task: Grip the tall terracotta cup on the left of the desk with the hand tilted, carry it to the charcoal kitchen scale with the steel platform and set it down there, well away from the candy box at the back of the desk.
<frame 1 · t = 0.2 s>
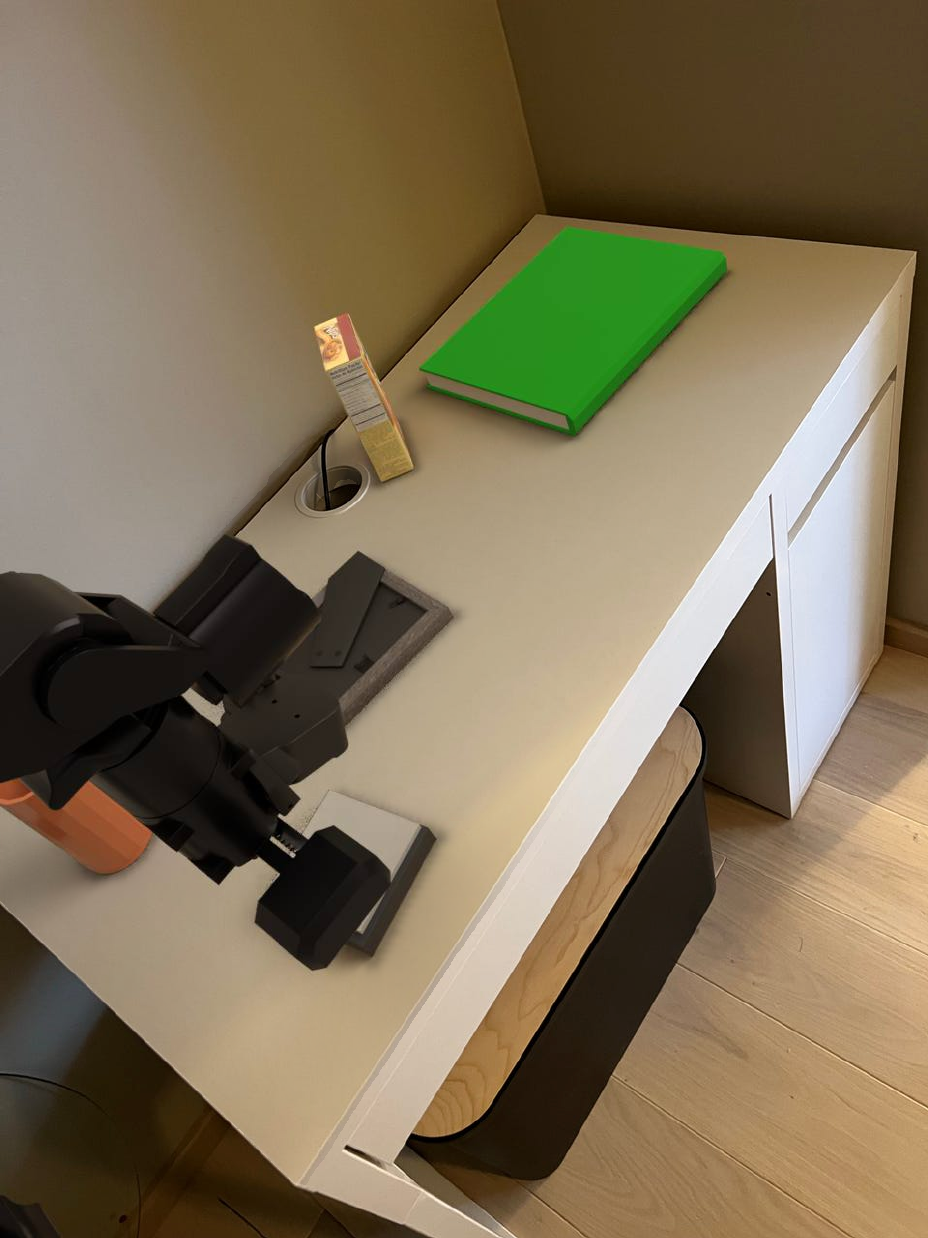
hand: (305, 888, 59), 14 cm above the table, tool pointing down, fingers open, 9 cm apart
candy box: (392, 454, 107), on the table
cup: (118, 837, 85), on the table
picture frame: (342, 655, 91), on the table
scale: (354, 874, 76), on the table
book: (575, 334, 110), on the table
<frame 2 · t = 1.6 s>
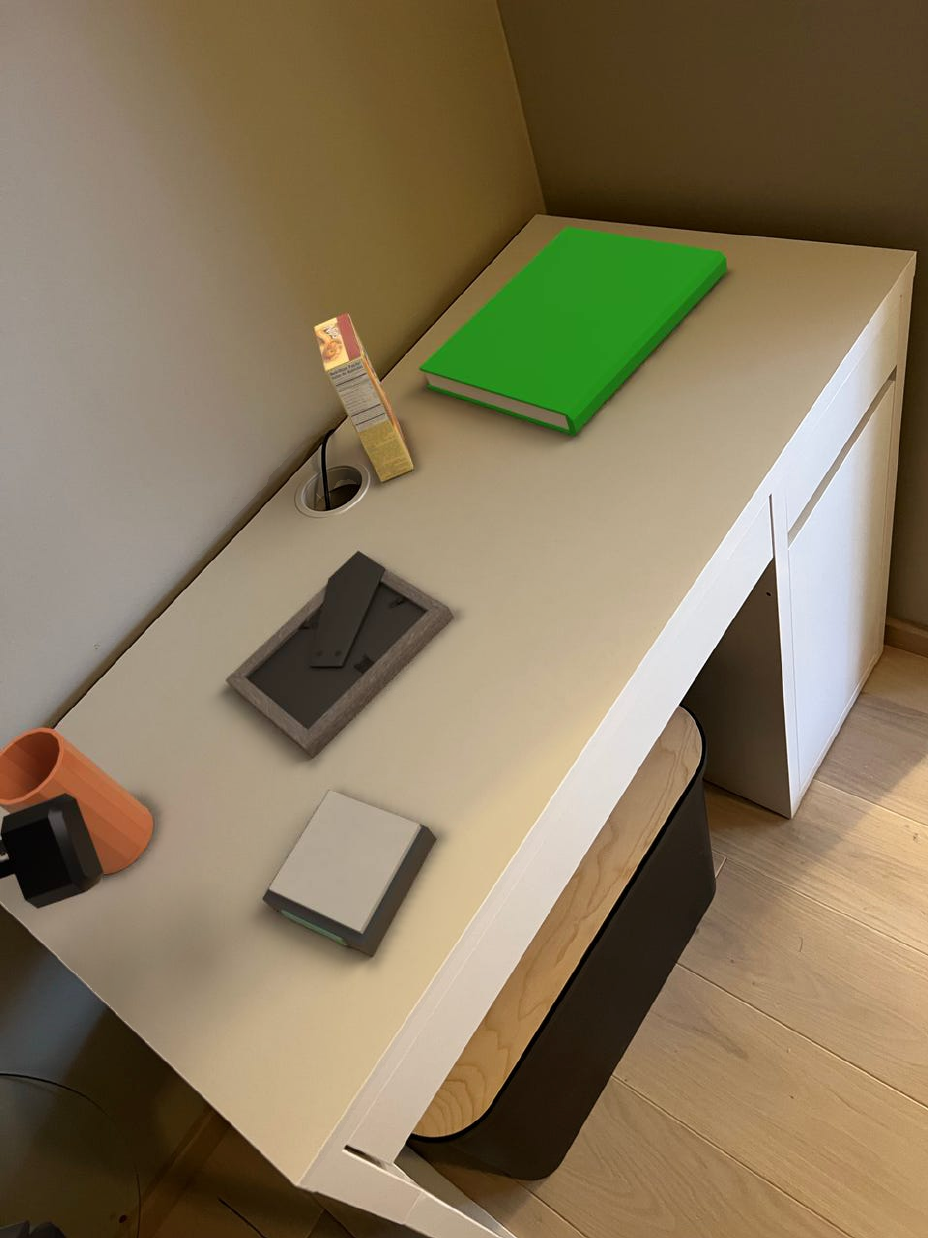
hand: (23, 848, 70), 13 cm above the table, tool tilted 45°, fingers open, 9 cm apart
nothing on the table moved.
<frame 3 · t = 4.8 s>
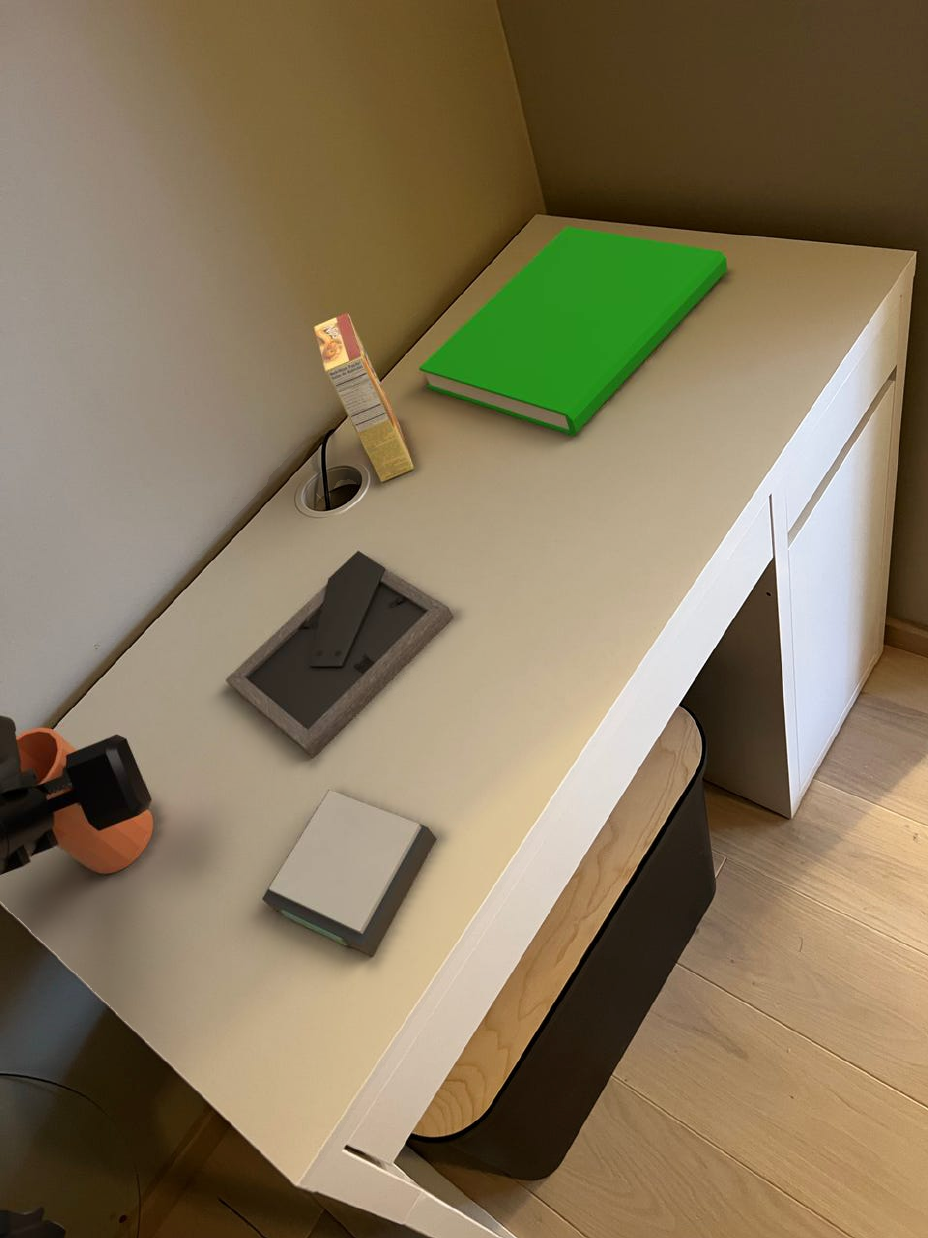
hand: (74, 788, 81), 7 cm above the table, tool tilted 45°, fingers closed on cup, 7 cm apart
cup: (119, 837, 85), on the table, touching gripper
everything else where it was.
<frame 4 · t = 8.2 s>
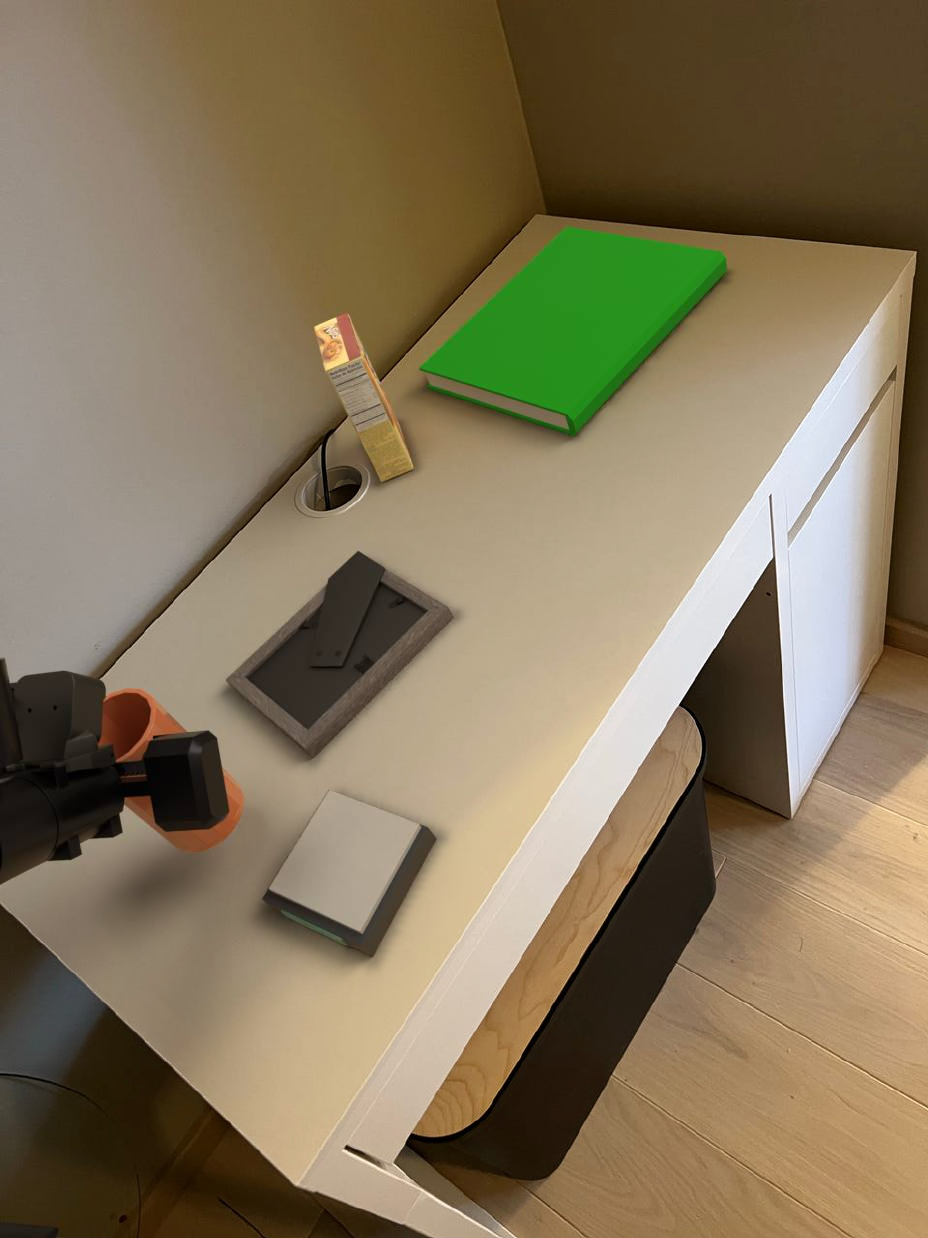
hand: (167, 757, 74), 11 cm above the table, tool tilted 45°, fingers closed on cup, 7 cm apart
cup: (206, 814, 78), point 5 cm above the table, touching gripper
everything else where it was.
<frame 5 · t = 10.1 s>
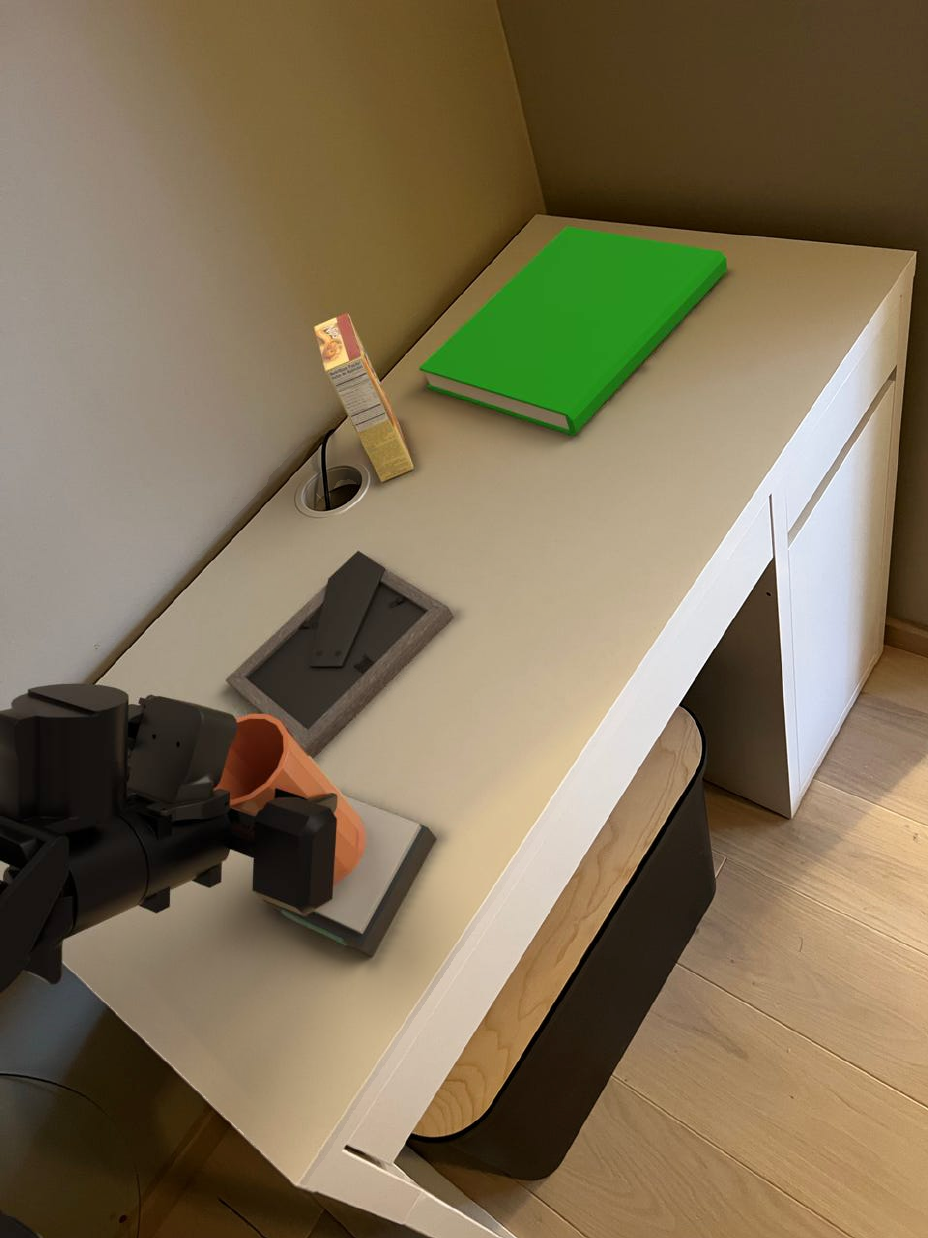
hand: (295, 787, 68), 11 cm above the table, tool tilted 45°, fingers closed on cup, 7 cm apart
cup: (324, 846, 72), point 5 cm above the table, touching gripper
everything else where it was.
when the fingers open (9 cm above the table, at t = 11.7 s): cup stays where it is, resting on scale.
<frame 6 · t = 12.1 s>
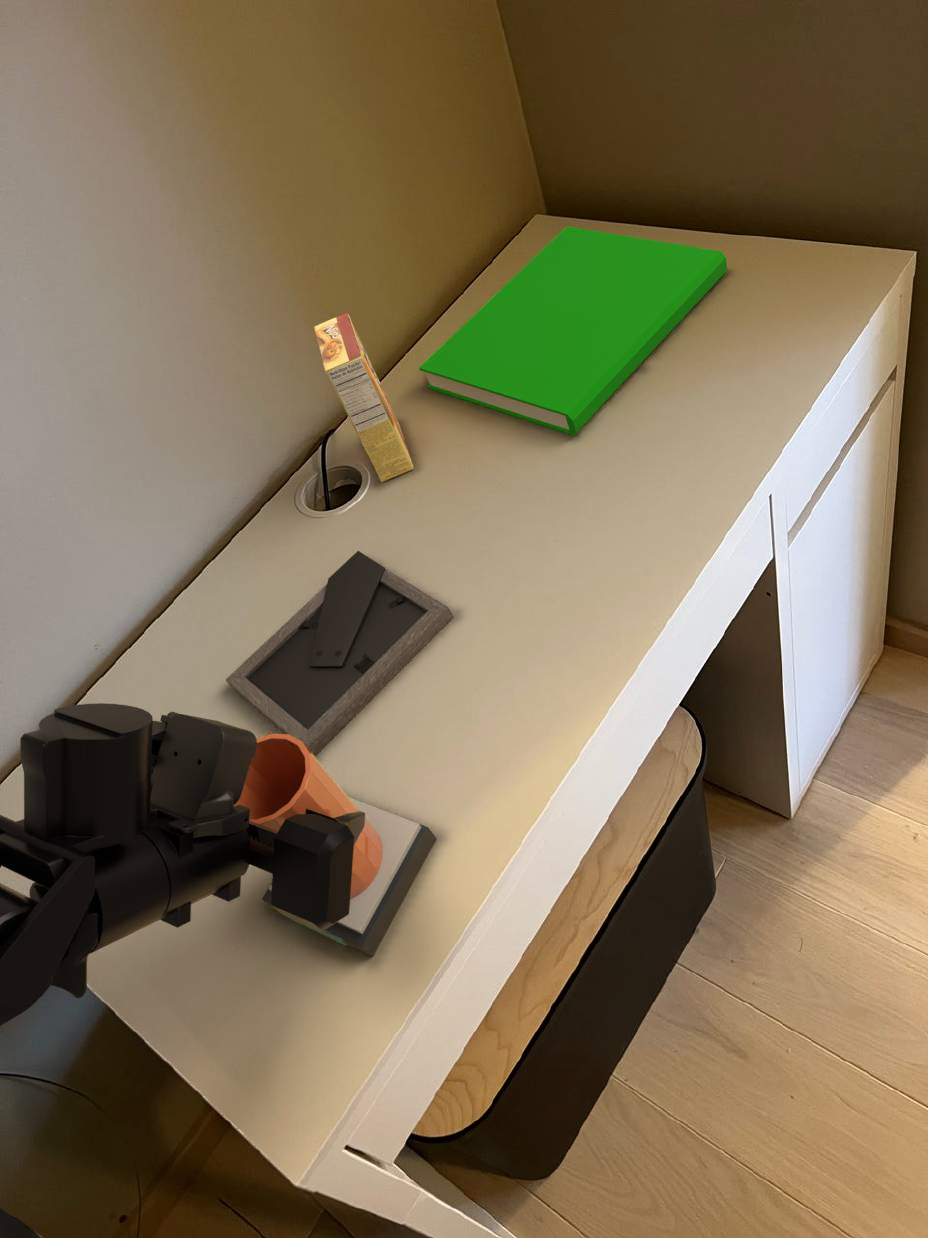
hand: (311, 800, 69), 10 cm above the table, tool tilted 45°, fingers open, 9 cm apart
cup: (341, 860, 74), point 3 cm above the table, touching scale
everything else where it was.
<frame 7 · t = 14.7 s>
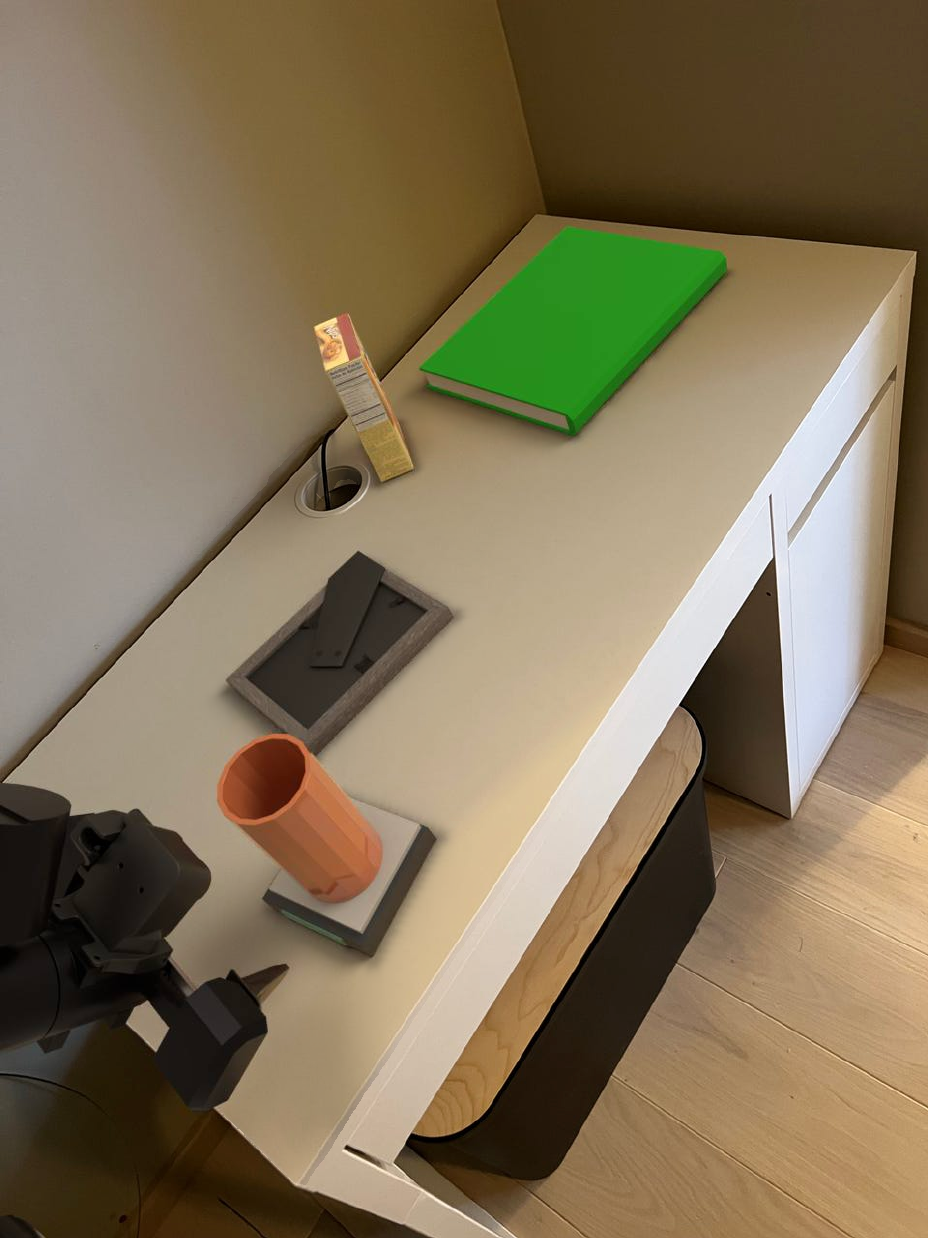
hand: (241, 921, 63), 11 cm above the table, tool tilted 35°, fingers open, 9 cm apart
nothing on the table moved.
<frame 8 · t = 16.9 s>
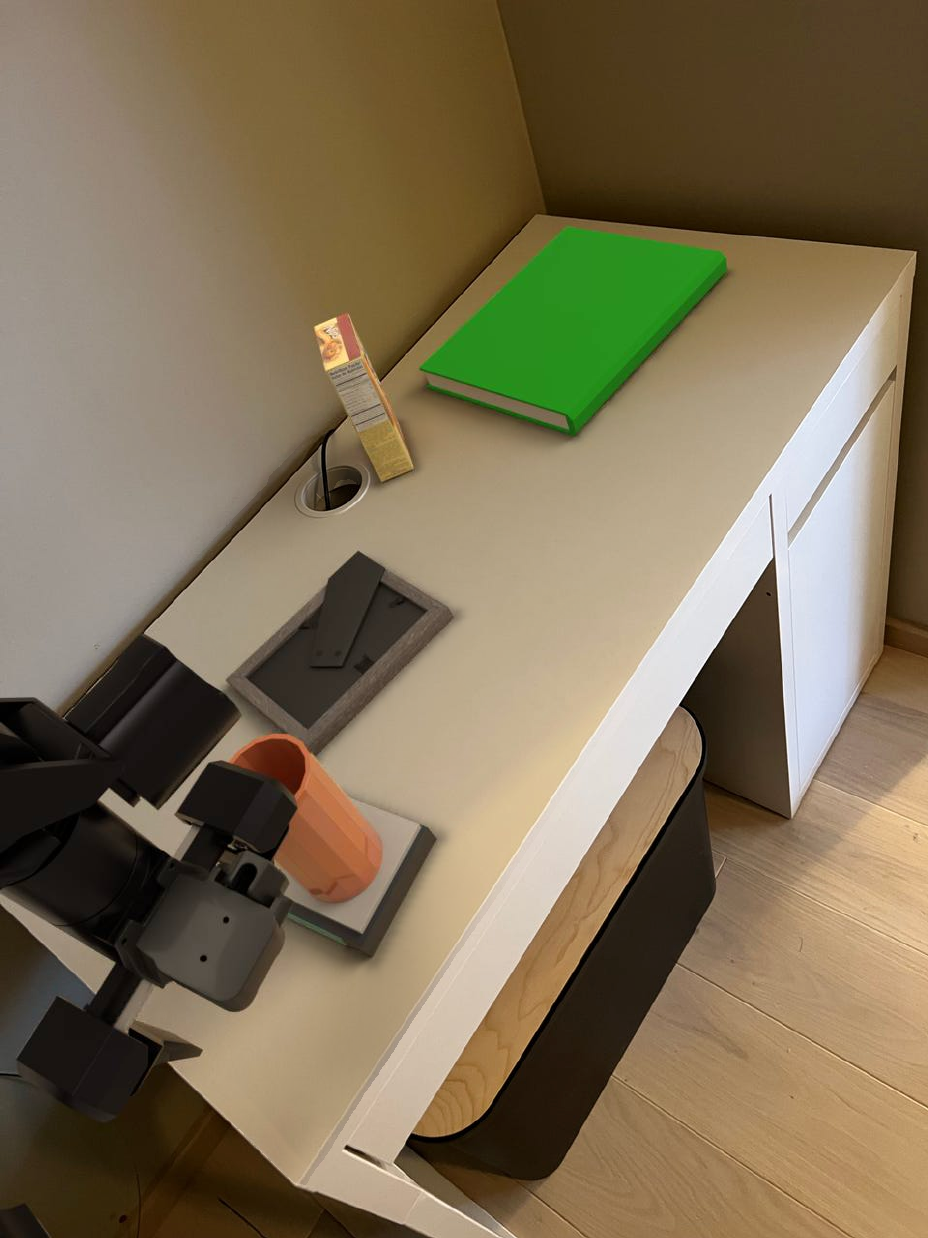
hand: (238, 975, 59), 13 cm above the table, tool pointing down, fingers open, 9 cm apart
nothing on the table moved.
at the end: cup inside the target area on the scale (0.1 cm from its centre), point 2.6 cm above the scale's base; cup tilted 0°; cup touching scale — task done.
